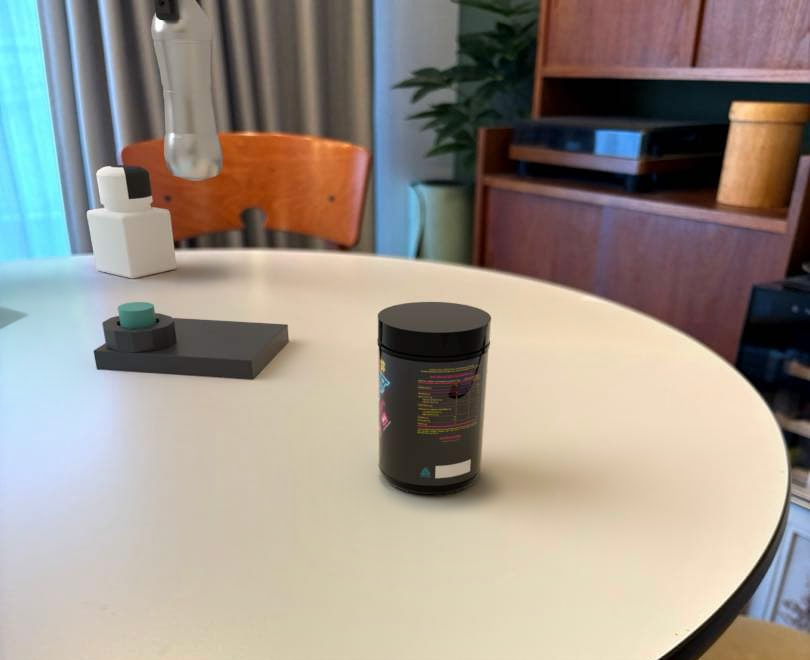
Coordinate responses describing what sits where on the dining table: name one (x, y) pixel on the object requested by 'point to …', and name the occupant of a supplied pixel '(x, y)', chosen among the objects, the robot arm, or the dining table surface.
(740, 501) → the dining table surface
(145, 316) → the button
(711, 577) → the dining table surface
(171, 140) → the silver bottle
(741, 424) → the dining table surface
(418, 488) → the supplement container
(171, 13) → the robot arm
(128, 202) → the medicine bottle
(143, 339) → the dark grey button base
